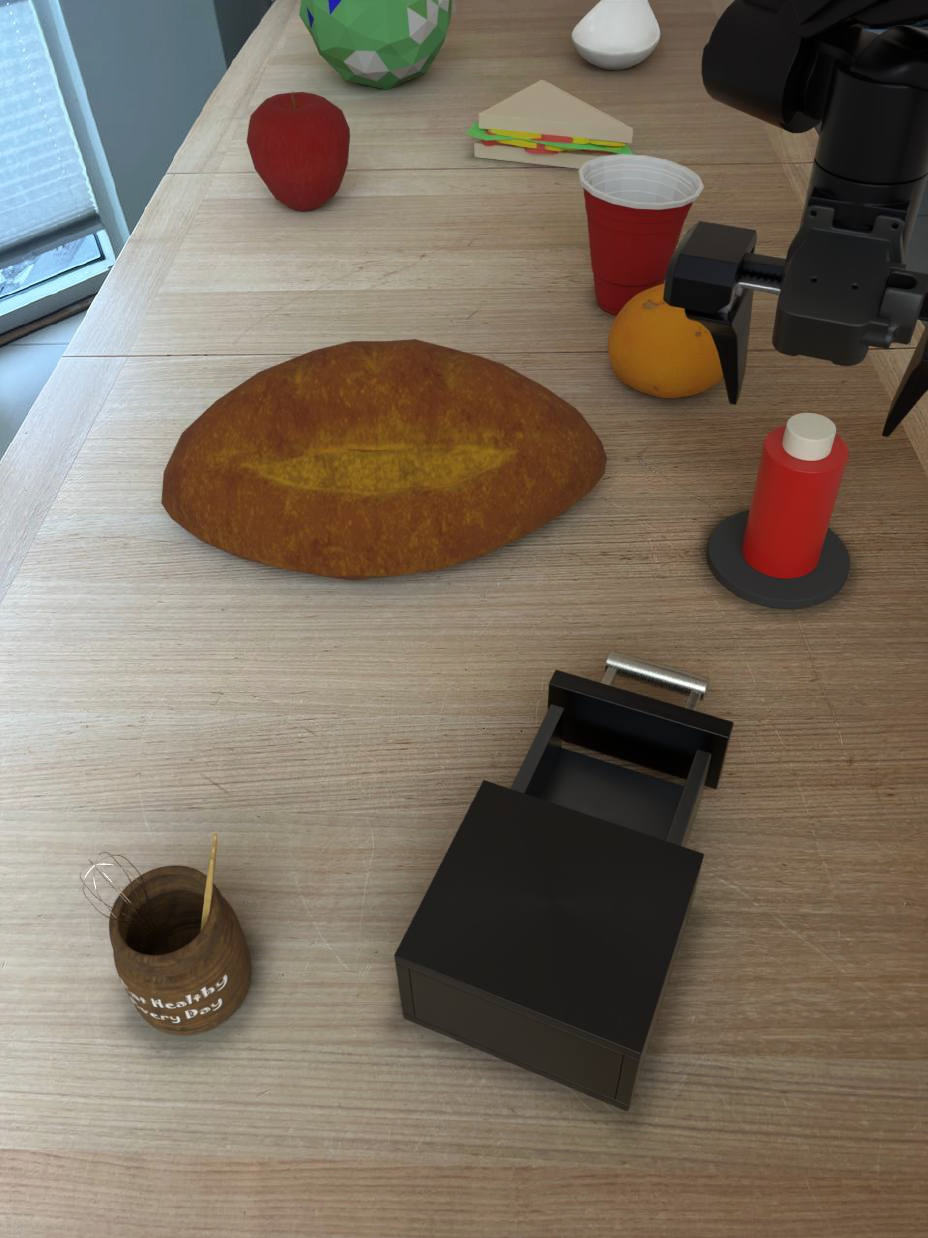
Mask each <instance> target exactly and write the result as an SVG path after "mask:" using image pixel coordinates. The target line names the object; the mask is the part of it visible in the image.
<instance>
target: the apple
mask: <svg viewBox="0 0 928 1238" xmlns="http://www.w3.org/2000/svg"><path fill="white" fill-rule="evenodd" d="M247 127H248V128H247V136H246V145H247V148H248V152H249V154H250V158H251V161H252V164H253V167H254V170H255V172H256V173H257V174H258V176H259V178H260V179H261V180H262V181H263V184H264V185H265V186H266V187H267V189H268V190H269V192H270V193H271V194H272V196H273V197H274V198H275V200H276V201H277V202H279V203H282V204H283V205H285V206H287V207H289V208H290V209H292V210H294V211H295V212H303V213H304V212H311V211H313V210H316V209H318V208H320V207H322V206H323V205H325V204H326V203H327V202H329V201H330V200H331V199H333V198H334V197H335V196H336V195H337V193H339V190H340V188H341V186H342V183H343V180H344V176H345V173H346V170H347V168H348V165H349V155H350V154H349V153H350V143H351V129H350V126H349V124H348V121H347V119H346V116H345V114H344V111H343V110H342V109H341V108H340V107H338V106H337V105H336V104H335V103H333V102H331V101H330V100H328V99H327V98H326V97H325V96H321V95H319V94H316V93H312V92H305V91H292V92H284V93H278V94H275V95H272V96H270V97H267V98H265V99H264V100H263V101H262V102H261V103H260V104H259V105H258V107H256V109H255V110H254V111H253V112H252V114H250V117H249V121H248V126H247Z"/></svg>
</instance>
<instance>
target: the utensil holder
mask: <svg viewBox="0 0 928 1238" xmlns="http://www.w3.org/2000/svg"><path fill="white" fill-rule="evenodd" d="M217 847H218V833H216V832H214V833H213V837H212V842H211V849H210V854H209V859H208V865H207V873H206V874H205V873H204V872H202V871H201V870H199V869H196V868H193V867H192V866H191V867H190V866H187V865H178V864H177V865H176V864H175V865H165V866H160V867H156V868H153V869H150V870H148V871H146V872H143V873H142V874H141V873H140V871H139V870H138V868H136V867H135V865H133V863H132V862H131V861H130V860H129V859H128V858H127V857H126V856H124V855H122V854H111V853H110V852H107V851H102V852H99V854H98V855H97V856H96V858H95V860H94V861H92V859H90V858H88V859H87V860H88V862H89V863H90V864H89V865H86V866H84V867H83V868H82V869H81V870H80V872H79V880H80V882H81V883H82V893H83V895H84V897H85V898H86V900H87V901H88V903H90V905H91V906H92V907H93V908H94V909H95V911H97V912H98V913H99V914H100V915H102V916H104V917H106V918H108V933H109V940H110V945H111V948H112V951H113V963H114V966H115V969H116V972H117V975H118V977H119V979H120V981H121V984H122V986H123V987H124V989H125V991H126V993H127V995H128V996H129V998H130V1000H131V1002H132V1004H133V1005H134V1007H135V1009H136V1011H137V1012H138V1013H139V1015H140V1016H141V1017H142V1018H143V1019H144V1020H145V1021H146V1023H147V1024H149V1025H150V1026H152V1027H153V1028H154V1029H156V1030H158V1031H160V1032H162V1033H165V1034H167V1035H173V1036H179V1037H188V1036H195V1035H196V1036H197V1035H200V1034H203V1033H206V1032H209V1031H211V1030H213V1029H215V1028H217V1027H219V1026H220V1025H222V1024H223V1023H224V1022H226V1021H227V1020H228V1019H229V1018H231V1016H232V1015H234V1013H236V1011H237V1010H238V1009H239V1008H240V1006H241V1004H242V1003H243V1001H244V1000H245V998H246V995H247V993H248V990H249V988H250V984H251V980H252V959H251V953H250V950H249V946H248V943H247V941H246V938H245V934H244V931H243V929H242V925H241V923H240V921H239V919H238V916H237V914H236V912H235V910H234V908H233V906H232V905H231V904H230V903H229V902H228V900H227V899H226V898H225V897H224V896H223V895H222V893H221V891H220V890H219V888H218V887H217V885H216V884H215V883H214V880H215V873H216V863H217ZM102 854H107V855H106V856H104V857H102V858H101V859H99V860H98V858H99V856H100V855H102ZM116 856H118V857H121V858H123V859H125V860H126V861H127V862H128V863H129V865H131V867H133V869H135V871H136V873H137V874H138V875H139V876H137V877H135V876H134V875H133V874H132V873H131V872H130V871H129V870H128V869H126V868H124V867H123V866H122V865H121V864H120V863H119V862H118V861H117V859H116V858H115V857H116ZM109 857H111V859H113V861H115V863H117V864H114V863H100V862H101V861H103V860H104V859H107V858H109ZM101 865H104V866H105V865H106V866H107V865H108V866H112V867H113V866H114V867H117V868H119V869H121V870H122V871H123V872H124V874H125V875H126V877H127V879H128V881H129V883H128V884H127V885H126V886H125V887H124V888H123V890H121V889H120V888H119V887H118V886H117V885H116V884H115V882H114V881H113V880H112V879H111V878H109V876H108V875H107V874H106V873H105V872H104V871H103V870H102V869H101V868H100V867H99V866H101ZM89 867H90V869H89V870H87V873H86V874H85V876H84V878H83V880H82V872H83V871H84V870H85V869H87V868H89ZM92 869H93V871H92V872H93V874H92V875H93V877H92V878H93V886H94V889H95V892H96V895H97V896H96V895H95V894H94V893H93V892H92V891H91V890H90V888H89V887H88V886H87V885H86V883H85V881H86V878H87V876H88V874H89V873H90V871H91V870H92ZM95 870H96V871H97V873H99V874H100V875H101V877H102V878H103V879H104V880H105V882H106V883H107V884H108V885H109V886H110V887H111V888H112V889H113V890H114V892H116V893H117V894H118V896H117V897H116V899H115V901H114V903H113V906H111V905H109V904H108V903H106V902H104V900H103V899H102V898H101V896H100V894H99V891H98V889H97V885H96V879H95V872H96V871H95ZM128 874H129V875H131V877H132V878H133V879H132V880H131V878H130V876H129V875H128ZM107 879H108V880H107ZM109 881H110V882H109ZM111 883H112V884H113V885H112V884H111ZM84 886H85V887H84ZM85 888H86V889H87V890H88V891H89V892H90V894H91V895H93V897H94V898H95V899H97V900H98V901H99V902H100V903H102V904H103V905H104V907H106V909H107V910H108V911H109V912H110V913H109V916H108V915H106V914H104V913H103V912H101V911H100V910H98V908H97V907H96V906H95V905H94V904H93V903H92V901H91V900H90V899H89V898H88V896H87V895H86V893H85Z"/></svg>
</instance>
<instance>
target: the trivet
mask: <svg viewBox="0 0 928 1238" xmlns="http://www.w3.org/2000/svg"><path fill="white" fill-rule="evenodd" d="M749 511H750V509H749V510H744V511H739V512H737V513H735V514H732V515H730V516H728V517H726V518H725V519H723V520H722V521H720V522H719V523H718V524H717V525H715V527H714V529H713V530H712V531H711V534H710V535H709V538H708V540H707V541H708V542H707V547H706V560H707V564H708V567H709V570H710V571H711V574H712V575H713V577H714V578H715V579H716V581H718V582H719V583H720V584H721V586H723V587H724V588H725V589H727V590H728V591H729V592H731V593H732V594H734V595H735V596H737V597H739V598H741V599H743V600H745V601H748V602H750V603H753V604H756V605H760V606H763V607H768V608H773V609H783V610H792V609H793V610H794V609H796V610H797V609H804V608H810V607H814V606H817V605H820V604H822V603H824V602H826V601H828V600H830V599H833V597H834V596H836V595H837V594H838V593H839V592H840V591H841V590H842V589H843V587H844V585H845V583H846V581H847V579H848V575H849V572H850V568H851V557H850V554H849V551H848V549H847V547H846V545H845V543H844V542H843V540H842V539H841V538H840V536H838V534H836V533H835V531H833V530H832V529H831V528H829V527H828V530H827V533H826V537H825V540H824V544H823V547H822V551H821V554H820V558H819V561H818V564H817V566H816V567H815V568H814V569H813V571H811V572H810V573H808V574H806V575H804V576H802V577H798V578H790V579H783V578H776V577H771V576H768V575H765V574H763V573H761V572H759V571H757V570H755V569H754V568H753V567H751V566H750V565H749V564H748V563H747V561H746V560H745V558H744V556H743V554H742V544H743V539H744V534H745V530H746V525H747V520H748V516H749Z"/></svg>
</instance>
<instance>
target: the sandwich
mask: <svg viewBox="0 0 928 1238" xmlns="http://www.w3.org/2000/svg"><path fill="white" fill-rule="evenodd" d="M465 134H466V135H468V136H471V137H474V138H477V139H480V140H478V141H476V142H474V143H473V147H474V149H473V151H474V158H479V159H480V158H481V159H488V160H489V159H490V160H498V161H506V162H515V163H525V164H531V165H532V164H533V165H543V166H549V167H550V166H551V167H561V168H568V169H577V170H579V169H580V168H581V167H582V166H583V165H584V163H585V162H587V161H590V160H593V159H595V158H598V157H600V156H608V155H617V154H631V155H635V154H634V152H633V151H632V150H631V149H630V147H629V146H628V145H627V144H633V138H634V137H633V136H634V135H633V134H634V128H633V127H630V126H629V125H627V124H625V123H623V122H622V121H620V120H618V119H617V118H615V117H613V116H611V115H609V114H607V113H606V112H603V111H602V110H600V109H597V108H596V107H594V106H592V105H591V104H589V103H587V102H585V101H583V100H581V99H579V98H578V97H576V96H574V95H572V94H570V93H568V92H566V91H565V90H563V89H561V88H559V87H557V86H555V85H554V84H552V83H550V82H548V81H547V80H545V79H540V80H538V81H536V82H535V83H533V84H531V85H529V86H527V87H525V88H523V89H522V90H520V91H518V92H516V93H514V94H512V95H510V96H509V97H507V98H505V99H503V100H501V101H500V102H498V103H496V104H494V105H492V106H490V107H488V108H486V109H485V110H483V111H481V112H480V113H478V122H474V123H473V124H472V126H471V127H470V128H469V129H468V130H467V131H466V132H465Z"/></svg>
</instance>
